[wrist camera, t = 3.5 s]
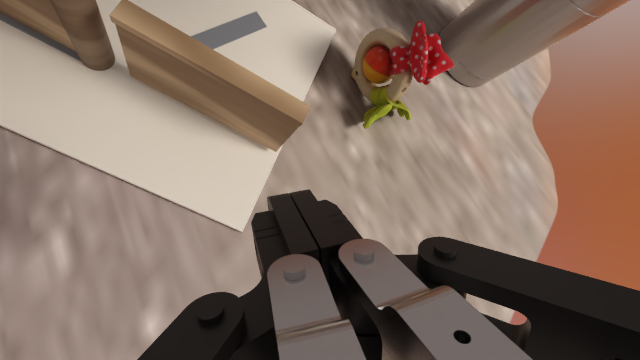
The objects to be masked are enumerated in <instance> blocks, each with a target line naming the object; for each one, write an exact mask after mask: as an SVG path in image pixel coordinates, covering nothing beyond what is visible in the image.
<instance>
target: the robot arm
mask: <svg viewBox="0 0 640 360" xmlns="http://www.w3.org/2000/svg"><path fill="white" fill-rule="evenodd" d="M628 1H630V0H475V1H474V2H473V3H472V4H471V5H470V6H468V7H467V8H466V9H465V10H464V11H463V12H461V13H460V14H459V15H458V16H457V17H456V18H455V19H454V20H452V21H451V22H450V23H449V24H448V25H447V26H446V27H444V28H443V29H442V31H441V32H440V35H439V37H440V39H441V48H442V50H443V51H444V52H445V53H446V54H447V55H448V57H449V58H450V59H451V60H452V62H453V63H454V66H453V67H452V68H451V69H449V70H447V71H448V72H449V73H450V74H451V76H452V77H453V78H455V79H456V80H457V81H458V82H460V83H462V84H464V85H466V86H469V87H478V86H481V85H483V84H485V83H486V82H488V81H490V80H492V79H494V78H495V77H497V76H499V75H501V74H502V73H504V72H506V71H508V70H510V69H511V68H513V67H515V66H517V65H518V64H520V63H522V62H524V61H525V60H527V59H529V58H531V57H532V56H534V55H536V54H538V53H539V52H541V51H543V50H545V49H546V48H548V47H550V46H551V45H553V44H555V43H557V42H559V41H560V40H562V39H564V38H566V37H567V36H569V35H571V34H572V33H574V32H576V31H578V30H580V29H581V28H583V27H585V26H587V25H588V24H590V23H592V22H593V21H595V20H597V19H599V18H601V17H602V16H604V15H605V14H607V13H609V12H611V11H613V10H614V9H616V8H618V7H619V6H621V5H623V4H625V3H627V2H628ZM267 202H268V210H269V211H265V212H260V213H255V215H254V218H253V220H252V222H251V224H252V230H253V237H254V243H255V250H256V256H257V261H258V265H259V269H260V274H261V277H262V279H261V281H260V282H259V284H258V285H257V286H256V287H255V288H254V289H253V290H251V291H250V292H248V293H247V294H245V295H243V296H241V297H239V298H238V297H237V296H235V295H234V294H231V293H227V292H216V293H211V294H207V295H204V296H202V297H200V298H198V299H196V300H195V301H193V302H192V303H191V304H189V305H188V306H187V307H186V308H185V309H184V310H183V311H182V312H181V314H180V315H179V316H178V317H177V318H176V319H175V320H174V321H173V322H172V323H171V324H170V325H169V326H168V327H167V329H166V330H165V331H164V332H163V333H162V334H161V335H160V336H159V337H158V338H157V339H156V340H155V341H154V342H153V343H152V345H151V346H150V347H149V348H148V349H147V350H146V351H145V352H144V353H143V354H142V355H141V356H140V357H139V358H138V359H137V360H640V291H638V290H634V289H631V288H627V287H624V286H620V285H616V284H612V283H609V282H606V281H602V280H598V279H595V278H591V277H588V276H584V275H580V274H577V273H573V272H570V271H566V270H562V269H559V268H555V267H552V266H548V265H544V264H541V263H537V262H534V261H530V260H526V259H523V258H519V257H516V256H512V255H508V254H505V253H501V252H498V251H494V250H490V249H487V248H483V247H480V246H476V245H473V244H469V243H465V242H462V241H458V240H455V239H451V238H446V237H431V238H427V239H425V240H423V241H422V242H421V243H420V244H419V246H418V255H394V254H393V253H392V252H391V251H390V250H389V249H388V248H387V247H386V246H384V245H383V244H381V243H380V242H377V241H374V240H370V239H363V238H362V237H361V235H360V234H359V233H358V232H357V230H356V229H355V228H354V227H353V225H352V224H351V223H350V222H349V220H347V218H346V217H345V215H344V214H343V213H342V211H341V210H340V209H339V208H338V206H337V205H335V204H333V203H331V202H329V201H327V200H322V201H317V199H316V198H315V196H314V195H313V194H312V192H311V191H310V190H303V191H298V192H292V193H289V194H288V193H286V194H281V195H276V196H270V197H267ZM467 293H468V294H470V295H473V296H476V297H479V298H482V299H485V300H487V301H490V302H493V303H496V304H499V305H501V306H504V307H507V308H510V309H513V310H516V311H518V312H520V313H522V314H523V315H525V316H526V317H527V321H526V322H525V323H524V324H522V325H511V324H509V323H506V322H503V321H501V320H498V319H495V318H493V317H490V316H487V315H485V314H482V313H480V312H479V311H478V310H477V309H475V308H474V307H473V306H472V305H471V304H470V303H469V302H468V301H466V300H465V299H466V294H467Z"/></svg>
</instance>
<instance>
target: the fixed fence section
mask: <svg viewBox="0 0 640 360" xmlns="http://www.w3.org/2000/svg"><path fill="white" fill-rule="evenodd" d="M0 13H2V14H4V15H6V16H8V17H10V18H12V19H14V20H16V21H18V22H20V23H22V24H24V25H25V26H27V27H29V28H31V29H33V30H35V31H37V32H39V33H41V34H43V35H45V36H47V37H49V38H50V39H52V40H54V41H56V42H58V43H60V44H62V45H64V46H66V47H68V48H70V49H72V50H74V51H75V52H77V54H78V56H79V58H80V60H81V61H82V63H83V64H84V65H85V66H86V67H88V68H89V69H92V70H95V71H104V70H107V69H109V68H111V67H112V66H113V65H114V63H115V55H114V52H113V49H112V46H111V43H110V40H109V37H108V34H107V31H106V28H105V25H104V22H103V20H102V17H101V14H100V11H99V8H98V5H97V2H96V0H0Z"/></svg>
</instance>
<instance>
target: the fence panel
mask: <svg viewBox="0 0 640 360" xmlns="http://www.w3.org/2000/svg"><path fill="white" fill-rule="evenodd" d="M109 16H110V19H111V22H113V23H115V25H116V29H117V32H118V35H119V39H120V42H121V46H122V49H123V53H124V56H125V59H126V63H127V66H128V70H129V73H130V76H131V77H133V78H135V79H137V80H139V81H141V82H143V83H145V84H147V85H149V86H151V87H152V88H154V89H156V90H158V91H160V92H162V93H164V94H166V95H168V96H170V97H172V98H173V99H175V100H177V101H179V102H181V103H183V104H185V105H187V106H189V107H191V108H193V109H195V110H196V111H198V112H200V113H202V114H204V115H206V116H208V117H210V118H212V119H214V120H216V121H217V122H219V123H221V124H223V125H225V126H227V127H229V128H231V129H233V130H235V131H237V132H238V133H240V134H242V135H244V136H246V137H248V138H250V139H252V140H254V141H256V142H258V143H260V144H261V145H263V146H265V147H267V148H269V149H271V150H273V151H275V152H276V151H277V150H278V149H279V148H280V147H281V146H282V145H283V144H284V142H285V141H286V140H287V139H288V138H289V137H290V136H291V135H292V133H293V132H294V131H295V130H296V129H297V128H298V127H299V126H301V125H302V124H303V122H304V119H305V117H306V115H307V113H308V111H309V108H310V106H309V105H308V104H306V103H304V102H303V101H301V100H299V99H297V98H296V97H294V96H292V95H290V94H289V93H287V92H285V91H284V90H282V89H280V88H278V87H277V86H275V85H273V84H271V83H270V82H268V81H266V80H265V79H263V78H261V77H259V76H258V75H256V74H254V73H253V72H251V71H249V70H247V69H246V68H244V67H242V66H240V65H239V64H237V63H235V62H234V61H232V60H230V59H228V58H227V57H225V56H223V55H221V54H220V53H218V52H216V51H215V50H213V49H211V48H209V47H208V46H206V45H204V44H203V43H201V42H199V41H197V40H196V39H194V38H192V37H190V36H189V35H187V34H185V33H184V32H182V31H180V30H178V29H177V28H175V27H173V26H171V25H170V24H168V23H166V22H165V21H163V20H161V19H159V18H158V17H156V16H154V15H152V14H151V13H149V12H147V11H146V10H144V9H142V8H140V7H139V6H137V5H135V4H134V3H132V2H130V1H128V0H121V1H120V2H119V4H118V5H117V6H116V7H115V9H114V10H113V11H112V12H111V13H110V15H109Z"/></svg>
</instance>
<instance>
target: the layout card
mask: <svg viewBox="0 0 640 360" xmlns="http://www.w3.org/2000/svg"><path fill="white" fill-rule="evenodd" d="M120 1H121V0H96V2H97V5H98V8H99V11H100V14H101V17H102V20H103V22H104V25H105V28H106V31H107V34H108V37H109V40H110V43H111V46H112V49H113V52H114V55H115V63H114V65H113V66H112V67H111V68H109V69H107V70H104V71H95V70H92V69H89V68H88V67H86V66H85V65H84V64H83V63H82V61H81V60H80V58H79V56H78V54H77V52H75V51H74V50H72V49H70V48H68V47H66V46H64V45H62V44H60V43H58V42H56V41H54V40H52V39H50V38H49V37H47V36H45V35H43V34H41V33H39V32H37V31H35V30H33V29H31V28H29V27H27V26H25V25H24V24H22V23H20V22H18V21H16V20H14V19H12V18H10V17H8V16H6V15H4V14H2V13H0V126H1V127H3V128H5V129H8V130H10V131H12V132H15V133H17V134H19V135H21V136H24V137H26V138H28V139H30V140H33V141H35V142H37V143H40V144H42V145H44V146H46V147H49V148H51V149H53V150H55V151H58V152H60V153H62V154H64V155H67V156H69V157H71V158H74V159H76V160H78V161H80V162H83V163H85V164H87V165H89V166H92V167H94V168H96V169H99V170H101V171H103V172H105V173H108V174H110V175H112V176H114V177H117V178H119V179H121V180H124V181H126V182H128V183H130V184H133V185H135V186H137V187H139V188H142V189H144V190H146V191H148V192H151V193H153V194H155V195H158V196H160V197H162V198H164V199H167V200H169V201H171V202H173V203H176V204H178V205H180V206H183V207H185V208H187V209H189V210H192V211H194V212H196V213H198V214H201V215H203V216H205V217H207V218H210V219H212V220H214V221H217V222H219V223H221V224H223V225H226V226H228V227H230V228H232V229H235V230H237V231H239V232H243V230H244V227H245V225H246V223H247V221H248V219H249V217H250V215H251V212H252V210H253V208H254V206H255V204H256V202H257V199H258V197H259V195H260V193H261V191H262V189H263V187H264V184H265V182H266V180H267V178H268V176H269V174H270V172H271V169H272V167H273V165H274V163H275V161H276V159H277V157H278V154H279V152H280V150H281V148H282V146H283V145H282V146H281V147H280V148H279V149H278V150H277V151H276V152H275V151H273V150H271V149H269V148H267V147H265V146H263V145H261V144H260V143H258V142H256V141H254V140H252V139H250V138H248V137H246V136H244V135H242V134H240V133H238V132H237V131H235V130H233V129H231V128H229V127H227V126H225V125H223V124H221V123H219V122H217V121H216V120H214V119H212V118H210V117H208V116H206V115H204V114H202V113H200V112H198V111H196V110H195V109H193V108H191V107H189V106H187V105H185V104H183V103H181V102H179V101H177V100H175V99H173V98H172V97H170V96H168V95H166V94H164V93H162V92H160V91H158V90H156V89H154V88H152V87H151V86H149V85H147V84H145V83H143V82H141V81H139V80H137V79H135V78H133V77H131V76H130V73H129V70H128V66H127V63H126V59H125V56H124V53H123V49H122V46H121V42H120V39H119V35H118V32H117V29H116V25H115V23H113V22H111V19H110V16H109V15H110V13H111V12H112V11H113V10H114V9H115V7H116V6H117V5H118V4H119V2H120ZM128 1H130V2H132V3H134V4H135V5H137V6H139V7H140V8H142V9H144V10H146V11H147V12H149V13H151V14H152V15H154V16H156V17H158V18H159V19H161V20H163V21H165V22H166V23H168V24H170V25H171V26H173V27H175V28H177V29H178V30H180V31H182V32H184V33H185V34H187V35H189V36H190V37H192V38H194V39H196V40H197V41H199V42H201V43H203V44H204V45H206V46H208V47H209V48H211V49H213V50H215V51H216V52H218V53H220V54H221V55H223V56H225V57H227V58H228V59H230V60H232V61H234V62H235V63H237V64H239V65H240V66H242V67H244V68H246V69H247V70H249V71H251V72H253V73H254V74H256V75H258V76H259V77H261V78H263V79H265V80H266V81H268V82H270V83H271V84H273V85H275V86H277V87H278V88H280V89H282V90H284V91H285V92H287V93H289V94H290V95H292V96H294V97H296V98H297V99H299V100H301V101H304V99H305V96H306V94H307V92H308V90H309V88H310V86H311V84H312V81H313V79H314V77H315V75H316V73H317V71H318V69H319V66H320V64H321V62H322V60H323V58H324V56H325V53H326V51H327V49H328V47H329V45H330V43H331V41H332V38H333V36H334V34H335V32H336V29H334V28H333V27H331V26H330V25H328V24H327V23H325V22H324V21H322V20H321V19H319V18H318V17H316V16H315V15H313V14H312V13H310V12H309V11H307V10H306V9H304V8H303V7H301V6H300V5H298V4H297V3H295V2H294V1H292V0H128Z"/></svg>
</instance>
